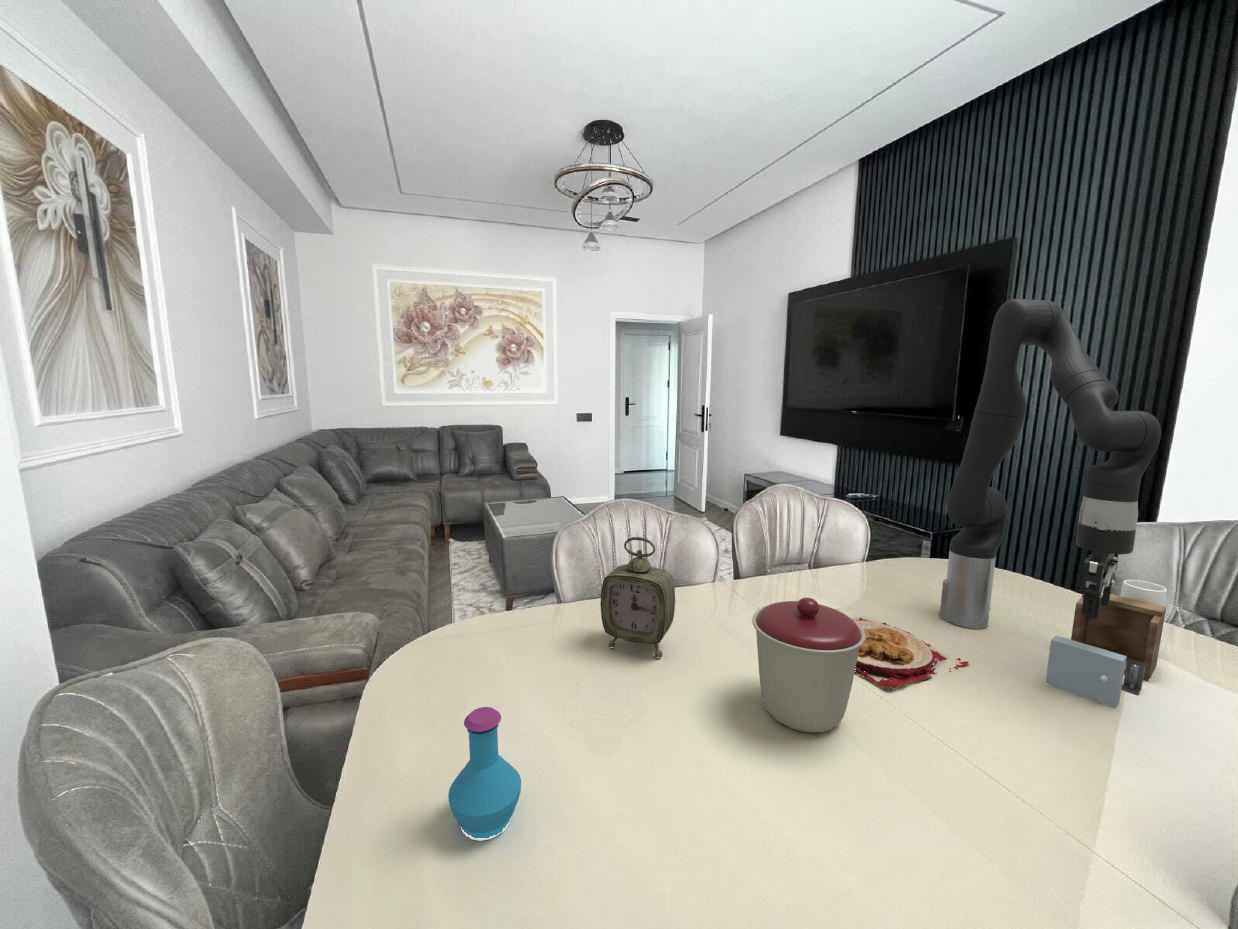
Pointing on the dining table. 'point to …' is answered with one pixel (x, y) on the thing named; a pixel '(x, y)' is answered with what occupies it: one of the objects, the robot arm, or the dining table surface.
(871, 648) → the plate with food
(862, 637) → the canister
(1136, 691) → the hinge clips
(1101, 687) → the door
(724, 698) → the dining table surface
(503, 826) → the perfume bottle
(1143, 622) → the cabinet
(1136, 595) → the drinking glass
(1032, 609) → the dining table surface
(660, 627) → the tabletop clock
